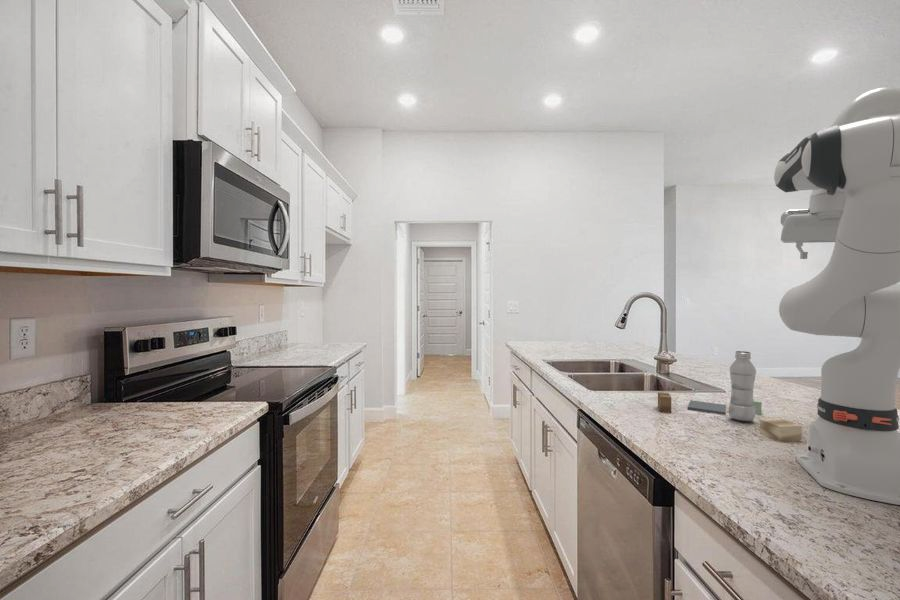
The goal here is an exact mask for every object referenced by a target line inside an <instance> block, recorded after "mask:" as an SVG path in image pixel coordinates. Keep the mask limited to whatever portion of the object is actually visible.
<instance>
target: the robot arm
mask: <svg viewBox="0 0 900 600" xmlns="http://www.w3.org/2000/svg"><path fill="white" fill-rule="evenodd" d="M773 177H774V178H773V179H774V180H773V181H774V183H775V186H776V187H777V188H778V189H780V190H781V191H782V192H784V193H793V192H799V191H811V193H810V196H809V207H808V208H802V209H801V208H799V209H788V210H787V211H785V212H783V213H782V214H781V215H780V224H781V225H782V229H781V234H780V241H781V243H783V244H795V248H796V249H797V251H798V253H800V256H799V258H800V260H807V259H808V254H809V253H808V251H804V249H803V246H804V244H805V243H808V244H809V243H810V244H811V243H834V247H833V249H832V253H831V256H830V259H829V261H828V263H827V265H826V266H825V267H824V268H823V270H821V272H819V274H817V275H816V276H815V277H813V278H811V279H810V280H809V281H806V282H804V283H803V284H800V285H797V286H795V287H792V288H791V289H789V290H788V291H786V293H784V295H783V296H782V298H781V300H780V302H779V306H778V311H779V317H780V318H781V321H782V323H784V325H785V326H786V327H787V328H788V329H789V330H791V331H795V332H799V333H804V334H809V335H814V336H826V337H827V336H828V337H829V336H830V337H847V338H848V337H850V338H858V339H859V338H860V343H859V345H858V346H857V347H856V348H854V349H853V350H850V351H847V352H844V353H840V354H837V355H834V356H832V357H830V358H828V359H827V360H825V362H824V363H823V364H822V365H821V368H820V369H821V373H820V375H821V376H820V378H821V379H820V397H819V398H818V399H817V403H816V407H817V413H816V414H817V416H818V417H817V418H816V419H815V420H814V421H811V422H810V423H808V426H807V436H806V449H805V450H806V451H805V452H806V453H805V454H803V453H802V454H800V453H799V454H796V456H795V461H796V462H797V463H798V464H799V465H800V466H801V467H803V468H804V470H805V471H806V472H807V473H808V474H809V476H810V475H811V477H812V478H813V479H814V480H815V481H816V482H817V483H818V484H819V485H821V487H824V488H827V489H829V490H831V491H835V492H838V493H842V494H844V495H850V496H852V497H853V496H854V497H858V498H862V499H865V500H871V501H877V502H882V503H886V504H891V505H897V506H898V505H899V506H900V432H899V431H898V430H899V429H900V426H899V425H900V424H899V421H900V417H899V414H898V409H897V408H896V407H895V403H896V388H897V381H898V377H899V373H900V88H898V87H893V86H884V87H876V88H873V89H871V90H868V91H866V92H864V93H862V94H860V95H858V96H856V98H854V99H853V100H852V101H851V102H849V103H848V104H847V105H846V106H845V107H844V108H843V109H842V110H841V111H840V113H839V114H838V115H837V117H836V118H835V120H834V121H833V122H831V123H830V124H828V125H827V126H825V127H823V128H821V129H819V130H817V131H815V132H813V133H811V134H810V135H808V136H806V137H804V138H803V139H802V140H801V141H800V142H799V143H798V144H797V145H796V146H795V147H794V148H793V149H792V150H791V151H790V152H789V153H787V154H785V155H784V156H783V157H781V158H780V159H779V161H778V162H777V165H776V167H775V169H774V176H773Z"/></svg>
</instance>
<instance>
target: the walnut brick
mask: <svg viewBox="0 0 900 600" xmlns="http://www.w3.org/2000/svg"><path fill="white" fill-rule="evenodd" d="M657 409H658V410H659V412H660V413H666V414H672V396H671V394H670V393H669V392H661V391H658V392H657Z"/></svg>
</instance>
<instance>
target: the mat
mask: <svg viewBox="0 0 900 600" xmlns="http://www.w3.org/2000/svg"><path fill="white" fill-rule="evenodd" d="M687 410H689V411H697V412H702V413H703V412H704V413H710V414H711V413H712V414H718V415H724V416H726V412H727V411H726V410H727V404H722V403H714V402H708V401H700V400H690V401H689V402H688V405H687Z"/></svg>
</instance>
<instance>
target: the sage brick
mask: <svg viewBox="0 0 900 600" xmlns="http://www.w3.org/2000/svg"><path fill="white" fill-rule="evenodd" d="M753 399H754V407H755V413H756V414H759V415H758V416H762V404H763V402H762V399H758V398H753Z"/></svg>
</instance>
